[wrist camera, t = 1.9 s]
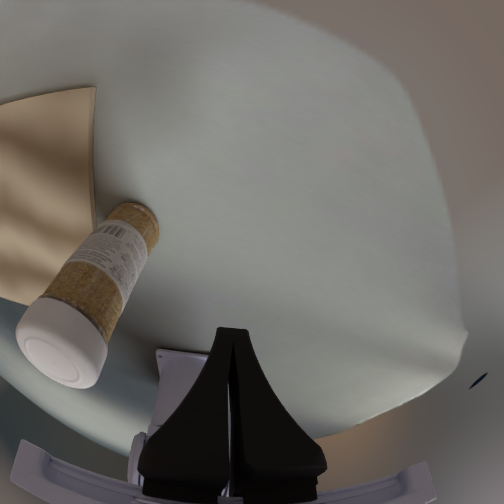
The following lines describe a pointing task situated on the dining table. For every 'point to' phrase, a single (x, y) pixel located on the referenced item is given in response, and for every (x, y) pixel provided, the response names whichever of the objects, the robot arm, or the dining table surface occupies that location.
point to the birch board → (44, 188)
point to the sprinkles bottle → (88, 298)
